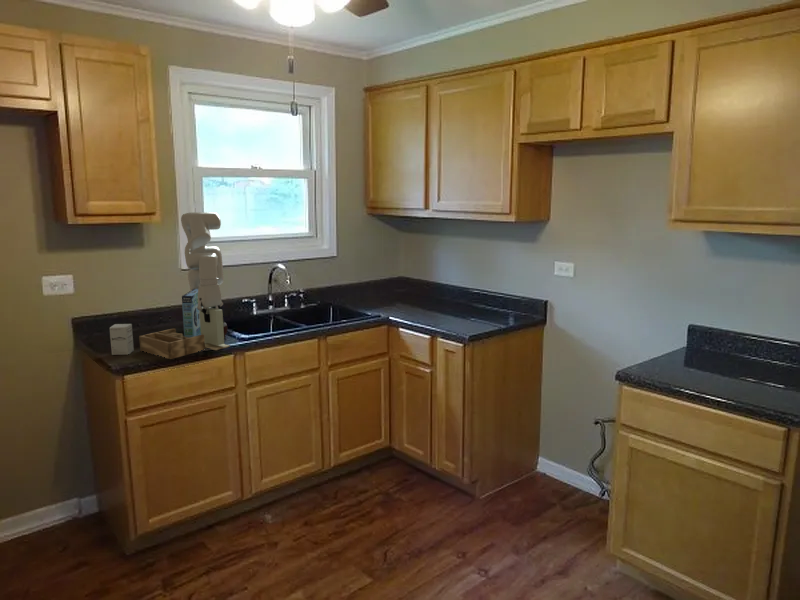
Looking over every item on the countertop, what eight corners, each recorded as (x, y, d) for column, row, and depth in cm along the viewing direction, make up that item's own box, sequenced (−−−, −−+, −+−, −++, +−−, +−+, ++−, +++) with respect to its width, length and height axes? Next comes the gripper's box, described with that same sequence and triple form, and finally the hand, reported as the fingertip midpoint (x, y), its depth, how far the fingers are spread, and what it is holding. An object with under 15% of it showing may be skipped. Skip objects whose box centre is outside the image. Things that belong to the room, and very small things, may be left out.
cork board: (210, 342, 282) (210, 340, 281) (229, 346, 274) (229, 345, 274) (196, 345, 275) (196, 344, 275) (215, 350, 267) (215, 349, 267)
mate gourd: (231, 337, 289) (229, 308, 286) (219, 341, 283) (217, 311, 280) (220, 336, 293) (218, 306, 290) (207, 339, 286) (205, 309, 283)
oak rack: (175, 342, 281) (174, 328, 280) (205, 349, 268) (204, 334, 267) (140, 351, 266) (139, 336, 265) (170, 359, 254) (168, 343, 253)
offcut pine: (172, 338, 275) (172, 332, 275) (182, 340, 273) (182, 333, 272) (165, 341, 271) (165, 334, 271) (175, 342, 269) (175, 335, 268)
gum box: (195, 333, 299) (192, 288, 295) (206, 332, 299) (203, 288, 295) (184, 343, 280) (180, 295, 276) (195, 342, 280) (191, 295, 276)
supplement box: (111, 355, 260) (108, 327, 257) (117, 350, 267) (114, 323, 265) (128, 354, 260) (126, 327, 258) (134, 350, 268) (132, 323, 265)
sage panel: (207, 339, 279) (205, 306, 276) (224, 343, 272) (222, 309, 269) (201, 341, 276) (199, 307, 273) (218, 345, 269) (215, 311, 266)
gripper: (218, 278, 277) (220, 317, 281) (188, 283, 264) (190, 323, 268) (228, 280, 273) (231, 319, 277) (198, 285, 260) (201, 325, 263)
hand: (211, 320), depth 272 cm, fingers closed on sage panel, 3 cm apart
